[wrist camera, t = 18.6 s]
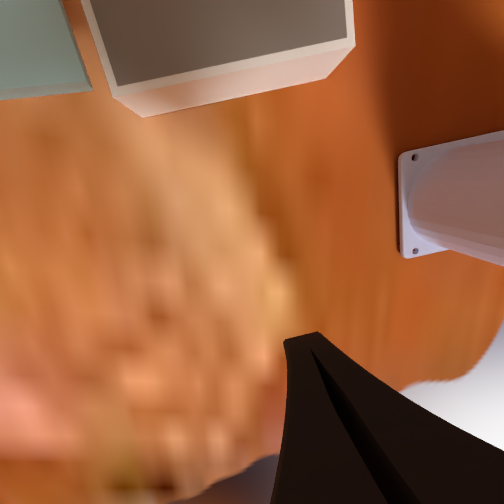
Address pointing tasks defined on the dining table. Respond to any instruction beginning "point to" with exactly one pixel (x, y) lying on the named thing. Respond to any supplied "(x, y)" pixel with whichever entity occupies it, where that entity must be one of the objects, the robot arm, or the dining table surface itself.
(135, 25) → the carton
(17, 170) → the dining table surface
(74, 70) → the side flap
